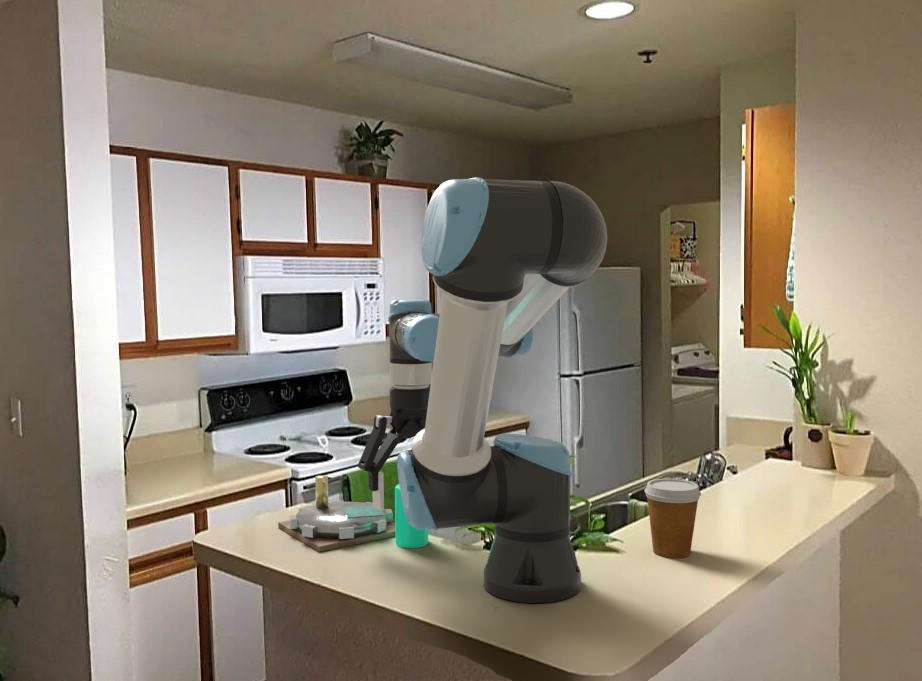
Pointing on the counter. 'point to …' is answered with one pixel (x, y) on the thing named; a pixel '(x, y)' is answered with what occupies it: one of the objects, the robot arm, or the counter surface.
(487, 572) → the robot arm
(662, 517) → the disposable coffee cup
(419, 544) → the candle
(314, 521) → the turntable
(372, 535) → the base board
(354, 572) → the counter surface
